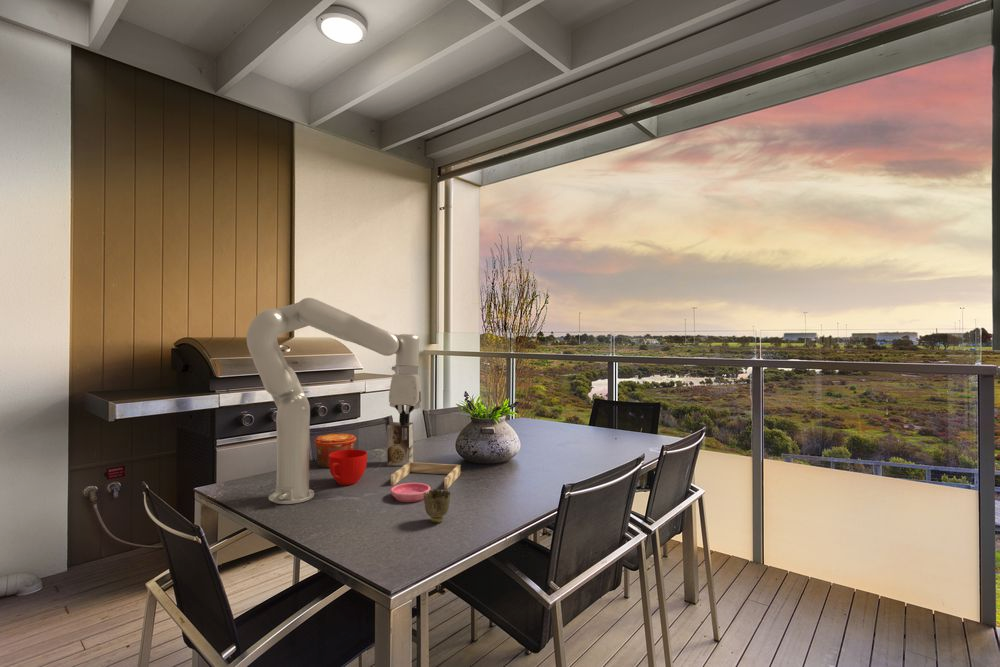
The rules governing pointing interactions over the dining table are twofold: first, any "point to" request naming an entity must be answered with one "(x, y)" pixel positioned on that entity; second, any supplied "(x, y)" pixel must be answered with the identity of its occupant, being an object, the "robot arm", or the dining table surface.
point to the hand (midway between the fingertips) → (404, 424)
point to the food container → (332, 446)
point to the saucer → (410, 492)
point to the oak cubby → (428, 471)
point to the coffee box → (399, 444)
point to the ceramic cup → (347, 465)
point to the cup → (436, 504)
